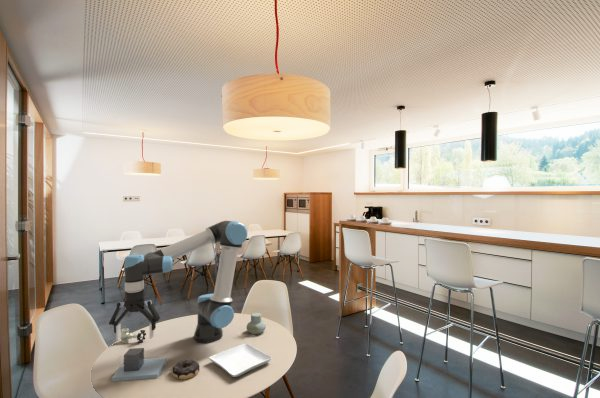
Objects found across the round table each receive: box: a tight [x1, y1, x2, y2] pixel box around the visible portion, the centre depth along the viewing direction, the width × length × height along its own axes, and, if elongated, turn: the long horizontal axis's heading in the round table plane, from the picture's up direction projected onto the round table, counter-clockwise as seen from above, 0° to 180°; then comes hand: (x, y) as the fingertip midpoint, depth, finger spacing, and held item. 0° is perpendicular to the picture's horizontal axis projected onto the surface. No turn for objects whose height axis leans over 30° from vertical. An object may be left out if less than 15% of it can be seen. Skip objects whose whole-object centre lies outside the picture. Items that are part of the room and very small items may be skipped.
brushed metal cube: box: [123, 347, 145, 372], centre depth 134 cm, size 6×6×7 cm
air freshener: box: [245, 312, 267, 335], centre depth 175 cm, size 11×8×10 cm
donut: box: [171, 358, 200, 380], centre depth 133 cm, size 11×12×4 cm
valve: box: [120, 327, 147, 344], centre depth 162 cm, size 7×7×12 cm
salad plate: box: [208, 343, 272, 378], centre depth 140 cm, size 21×21×3 cm
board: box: [111, 357, 168, 382], centre depth 134 cm, size 18×14×6 cm
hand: (135, 338), depth 134 cm, fingers open, 13 cm apart
